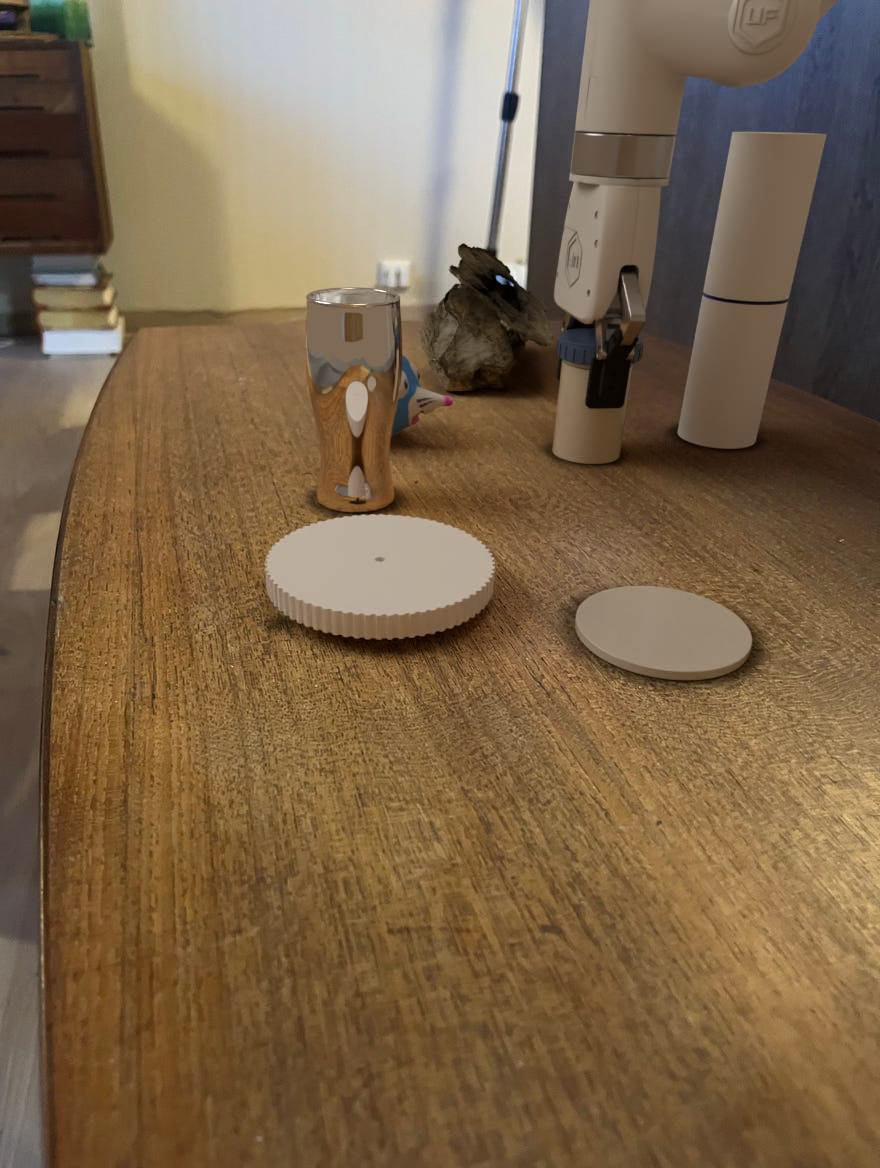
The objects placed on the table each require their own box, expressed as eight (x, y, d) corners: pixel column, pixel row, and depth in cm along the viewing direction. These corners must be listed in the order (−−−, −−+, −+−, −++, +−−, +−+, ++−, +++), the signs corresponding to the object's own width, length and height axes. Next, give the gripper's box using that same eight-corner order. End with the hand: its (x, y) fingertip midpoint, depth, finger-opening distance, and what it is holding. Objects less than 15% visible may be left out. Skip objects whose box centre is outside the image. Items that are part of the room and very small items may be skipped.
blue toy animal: (431, 470, 75) (435, 369, 70) (302, 452, 78) (298, 355, 73) (468, 429, 84) (473, 338, 80) (352, 415, 87) (351, 327, 83)
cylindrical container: (678, 444, 81) (735, 132, 68) (676, 421, 87) (729, 131, 74) (759, 451, 80) (833, 135, 67) (751, 428, 86) (818, 133, 73)
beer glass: (416, 492, 70) (421, 293, 62) (369, 522, 65) (369, 308, 57) (343, 475, 73) (339, 283, 65) (293, 503, 68) (282, 297, 60)
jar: (630, 450, 80) (646, 343, 75) (603, 469, 75) (619, 357, 71) (569, 437, 83) (581, 334, 78) (540, 455, 78) (551, 346, 73)
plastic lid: (301, 540, 62) (300, 506, 61) (500, 558, 60) (503, 523, 59) (236, 640, 50) (232, 602, 49) (481, 667, 48) (484, 627, 47)
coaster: (770, 624, 53) (773, 615, 53) (719, 702, 46) (721, 692, 45) (614, 579, 58) (615, 570, 57) (545, 643, 51) (546, 634, 50)
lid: (568, 343, 79) (570, 324, 78) (648, 352, 76) (651, 333, 75) (545, 360, 73) (547, 340, 72) (631, 370, 71) (634, 350, 70)
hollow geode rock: (490, 378, 119) (417, 287, 115) (566, 313, 112) (492, 216, 109) (453, 434, 95) (359, 323, 91) (547, 356, 89) (451, 233, 85)
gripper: (542, 154, 74) (520, 368, 83) (613, 168, 59) (577, 425, 68) (627, 157, 75) (596, 367, 84) (718, 170, 60) (669, 424, 69)
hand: (588, 392), depth 76 cm, fingers open, 7 cm apart
